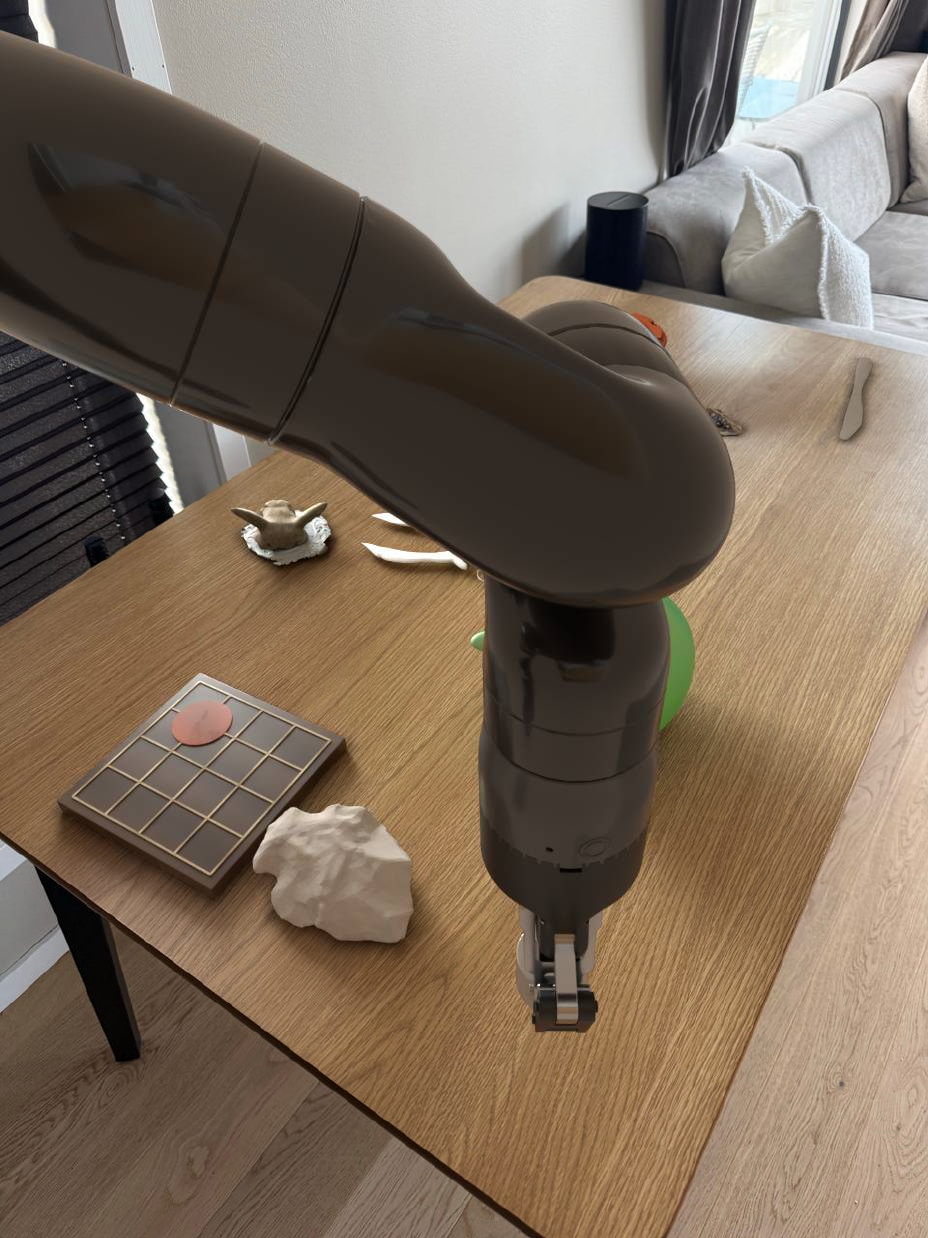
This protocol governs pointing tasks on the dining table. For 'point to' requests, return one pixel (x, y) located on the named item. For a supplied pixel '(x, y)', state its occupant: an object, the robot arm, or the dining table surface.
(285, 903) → the decorative stone
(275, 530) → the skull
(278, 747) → the game board
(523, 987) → the white cylinder
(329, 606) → the dining table surface
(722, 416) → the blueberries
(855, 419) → the butter knife
